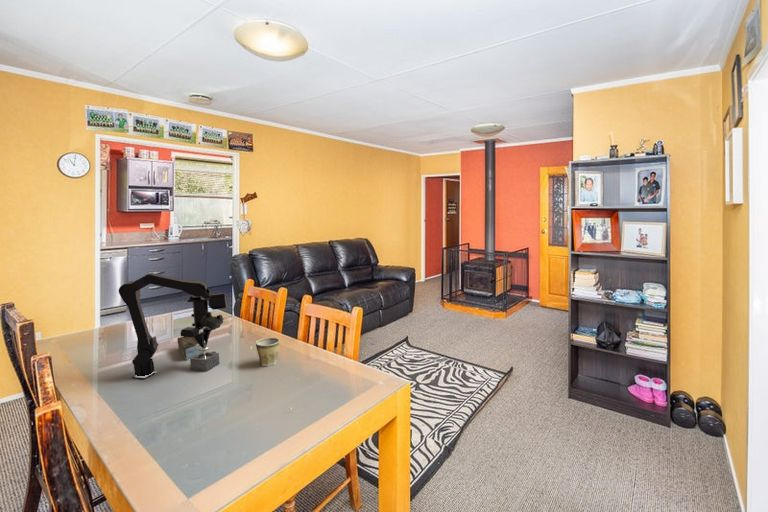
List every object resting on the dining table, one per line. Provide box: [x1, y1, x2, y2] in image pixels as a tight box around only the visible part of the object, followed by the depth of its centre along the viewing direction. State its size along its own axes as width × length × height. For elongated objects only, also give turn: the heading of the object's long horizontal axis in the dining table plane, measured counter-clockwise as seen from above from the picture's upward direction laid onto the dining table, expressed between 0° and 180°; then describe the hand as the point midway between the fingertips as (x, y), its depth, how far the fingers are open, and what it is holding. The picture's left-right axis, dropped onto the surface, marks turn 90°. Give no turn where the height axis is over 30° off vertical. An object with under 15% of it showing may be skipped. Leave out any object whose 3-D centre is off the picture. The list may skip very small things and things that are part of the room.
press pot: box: [189, 351, 221, 372], centre depth 168 cm, size 10×8×5 cm
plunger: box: [198, 339, 211, 359], centre depth 166 cm, size 5×5×9 cm
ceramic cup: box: [255, 337, 280, 367], centre depth 170 cm, size 13×10×10 cm
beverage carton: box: [177, 336, 203, 361], centre depth 184 cm, size 8×19×7 cm, turn 37°
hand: (203, 346), depth 166 cm, fingers closed on plunger, 2 cm apart
